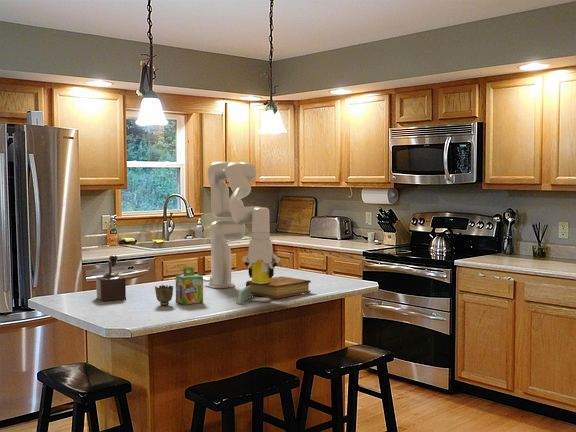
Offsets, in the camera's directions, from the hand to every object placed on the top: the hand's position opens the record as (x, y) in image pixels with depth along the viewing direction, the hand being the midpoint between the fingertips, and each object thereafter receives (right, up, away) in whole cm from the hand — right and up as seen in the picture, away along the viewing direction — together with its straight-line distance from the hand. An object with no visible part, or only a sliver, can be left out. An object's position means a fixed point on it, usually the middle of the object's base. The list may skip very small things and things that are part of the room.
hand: (261, 277), depth 273 cm
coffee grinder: (-67, -10, +8) cm, 68 cm away
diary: (+7, -9, +17) cm, 20 cm away
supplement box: (0, -3, 0) cm, 3 cm away
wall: (-7, -10, +2) cm, 12 cm away
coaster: (0, -10, +1) cm, 10 cm away
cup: (-40, -11, -9) cm, 42 cm away
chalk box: (-30, -11, -3) cm, 32 cm away
